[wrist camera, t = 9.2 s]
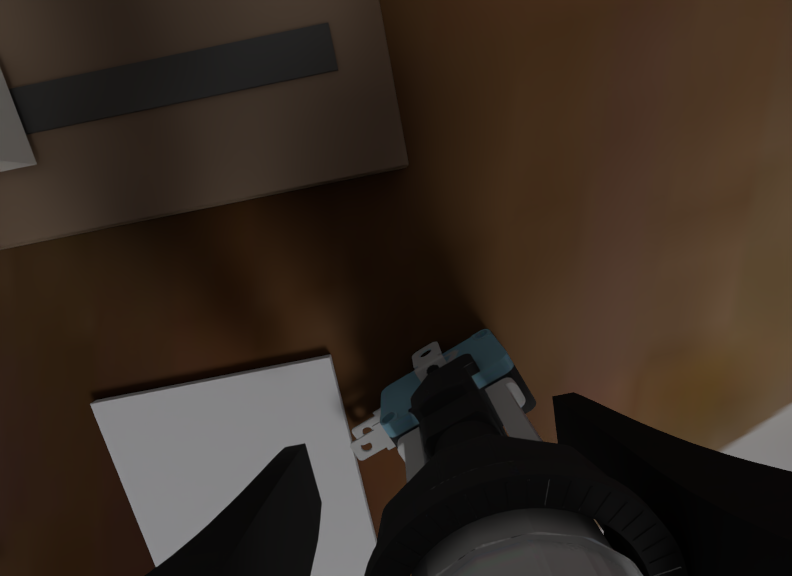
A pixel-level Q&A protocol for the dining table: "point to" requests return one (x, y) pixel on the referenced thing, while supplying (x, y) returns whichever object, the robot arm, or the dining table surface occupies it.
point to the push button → (498, 482)
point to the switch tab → (12, 134)
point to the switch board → (188, 106)
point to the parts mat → (237, 454)
